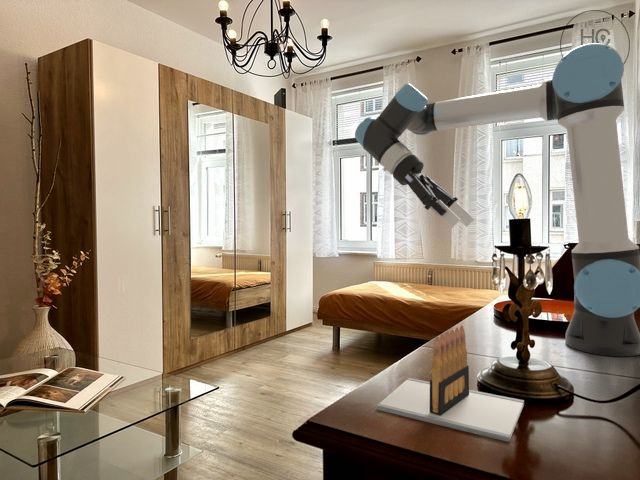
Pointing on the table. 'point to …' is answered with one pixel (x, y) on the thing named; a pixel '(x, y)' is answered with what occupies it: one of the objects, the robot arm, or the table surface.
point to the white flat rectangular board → (457, 410)
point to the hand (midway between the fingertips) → (463, 223)
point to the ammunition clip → (449, 372)
